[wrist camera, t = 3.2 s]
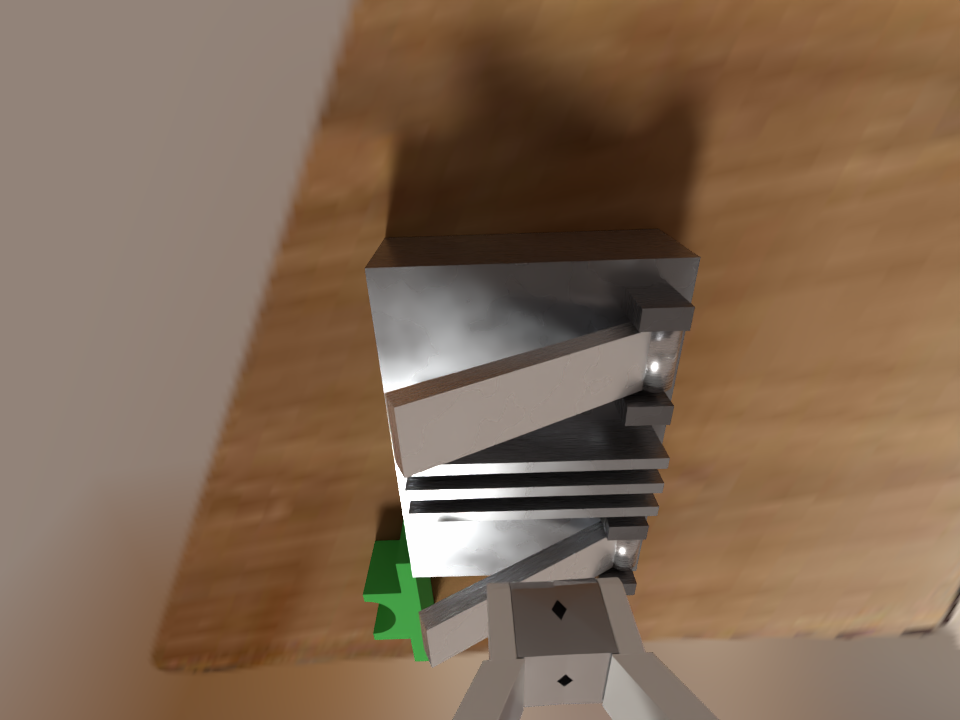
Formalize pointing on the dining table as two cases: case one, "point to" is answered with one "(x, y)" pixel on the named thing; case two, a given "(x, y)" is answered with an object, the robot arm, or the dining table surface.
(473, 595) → the strap far
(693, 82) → the dining table surface
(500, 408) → the strap near
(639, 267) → the heatsink block
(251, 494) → the dining table surface
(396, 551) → the pipe clamp
